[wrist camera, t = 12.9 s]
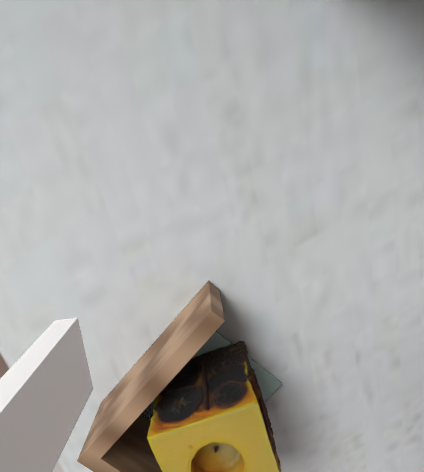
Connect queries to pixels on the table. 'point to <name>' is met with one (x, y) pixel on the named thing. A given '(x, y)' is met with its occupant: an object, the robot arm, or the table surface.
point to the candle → (213, 417)
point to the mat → (263, 377)
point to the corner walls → (148, 389)
